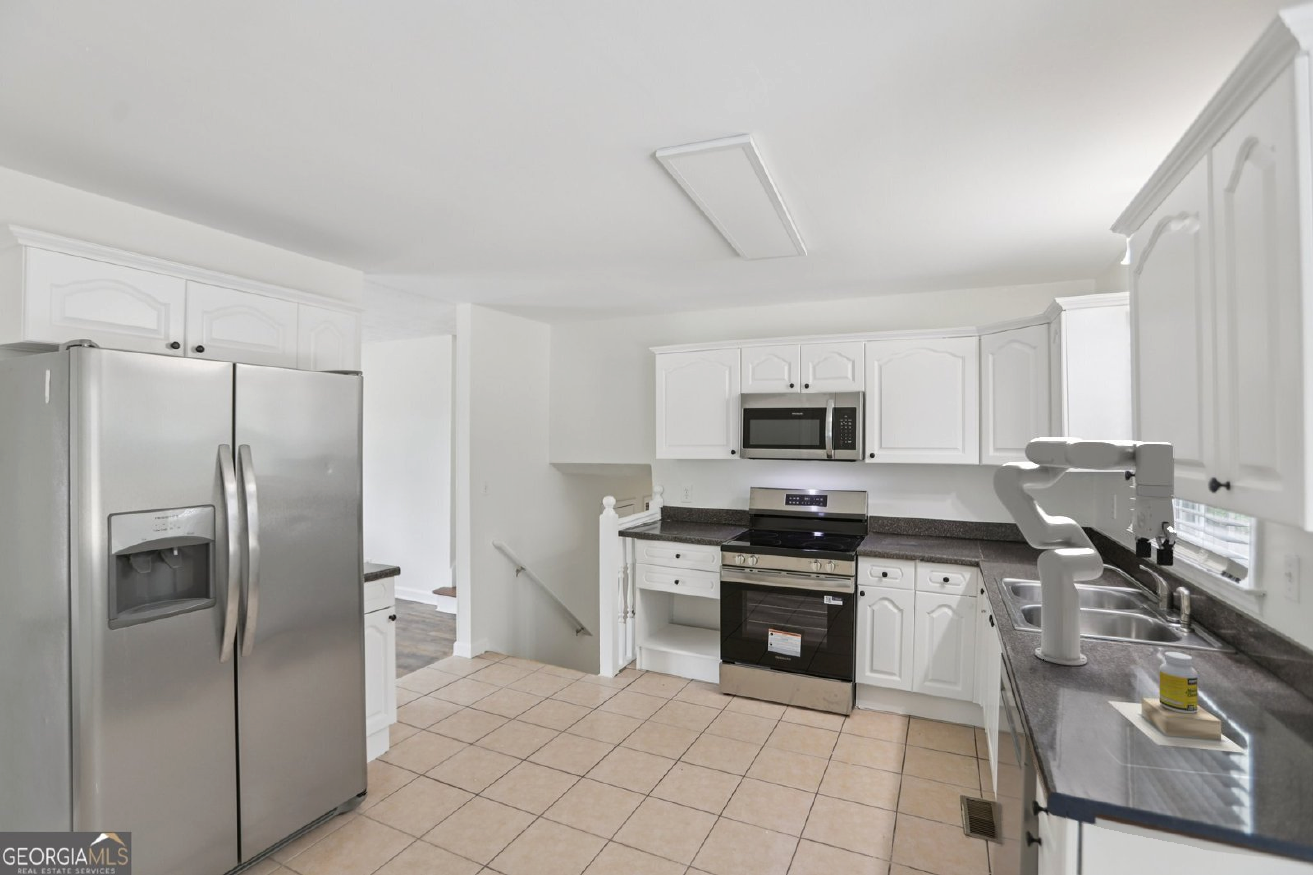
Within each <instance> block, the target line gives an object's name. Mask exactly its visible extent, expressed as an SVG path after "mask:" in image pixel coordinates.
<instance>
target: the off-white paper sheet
mask: <svg viewBox="0 0 1313 875" xmlns="http://www.w3.org/2000/svg"><path fill="white" fill-rule="evenodd" d="M1107 703H1109V704H1110V705H1112V706H1113V708H1114V709H1116V710H1117V711H1118V712H1119V713H1121V715H1123V716H1124V717H1125V718H1126V719H1127V720H1129V721H1130V723H1132V724H1133V725H1134V726H1135V727H1137V728H1138V729H1139V730H1140V731H1141V732H1142V733H1144V735H1146V736H1147V737H1148V738H1149V739H1150V740H1152V741H1153V742H1154V743H1155V744H1156V745H1157V746H1158V745H1159V746H1171V747H1181V748H1191V749H1198V750H1199V749H1202V750H1210V751H1212V750H1213V751H1221V752H1222V751H1223V752H1234V753H1245V754H1249V752H1248V751H1247V750H1246V749H1244V748H1243V747H1241V746H1240V745H1239V744H1236V743H1235V742H1234V741H1233V740H1232V739H1229V738H1228V737H1227V736H1225V735H1224V734H1222V733H1221V740H1213V739H1202V738H1191V737H1180V736H1169V735H1165V734H1164V733H1163V732H1162V731H1160V730H1159V729H1158V728H1157V727H1156V726H1154V725H1153V724H1152V723H1151V722H1149V721H1148V720H1147V719H1146V718H1145V717H1143V716H1142V703H1138V702H1136V703H1135V702H1124V701H1123V702H1122V701H1113V700H1107Z"/></svg>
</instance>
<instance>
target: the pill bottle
mask: <svg viewBox="0 0 1313 875" xmlns="http://www.w3.org/2000/svg"><path fill="white" fill-rule="evenodd" d="M1164 660H1165V662H1164V663H1162V664H1160V666H1159V699H1160V704H1161V705H1162V706H1164V707H1165V708H1167V709H1170V710H1173V711H1176V712H1181V713H1195V712H1196V711H1197V705H1198V701H1199V700H1198V690H1199V689H1198V672H1197V671H1196V670H1195V668H1194V667H1192V665H1193V657H1192V656H1191V655H1188V654H1187V653H1186V654H1185V653H1182V652H1176V651H1166V652H1165V653H1164Z"/></svg>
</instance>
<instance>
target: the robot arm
mask: <svg viewBox="0 0 1313 875" xmlns="http://www.w3.org/2000/svg"><path fill="white" fill-rule="evenodd" d="M1172 445H1173V444H1172V443H1170V442H1165V441H1164V442H1162V441H1161V442H1159V441H1155V442H1154V441H1145V442H1143V441H1139V440H1137V441H1136V440H1084V439H1082V438H1079V437H1039V438H1038V437H1037V438H1034V439H1032V440H1031V441H1029V442H1028V443H1027V444H1026V446H1025V449H1024V454H1025V457H1026V459H1027V460H1028V461H1016V462H1007V463H1004V464H1002V465H1000V466H998V467H997V468H996V469H995V471H994V474H993V477H992V479H993V488H994V492H995V494H996V496H997V499H998V500H999V501H1000V502H1001V504H1002V505H1003V506H1004V507H1005V509H1006V510H1007V511H1008V512H1009V515H1010V516H1011V517H1012V519H1013V520H1014V522H1015V524H1016V526H1017V527H1018V529H1019V531H1020V532H1021V534H1022V535H1023V537H1024V539H1025V540H1026V542H1027V543H1028V544H1029V546H1031V547H1032V548H1034V549H1037V550H1039V549H1040V550H1044V551H1043V552H1041V554H1039V556H1038V558H1037V560H1036V561H1037V562H1036V564H1037V565H1036V566H1037V572H1038V575H1039V580H1040V581H1039V582H1040V594H1041V595H1040V602H1041V605H1040V606H1041V609H1040V610H1041V614H1040V615H1041V619H1040V620H1041V624H1040V625H1041V626H1040V629H1041V636H1040V637H1041V639H1040V642H1041V644H1040V645H1041V646H1040V647H1037V648H1035V650H1034V654H1035V656H1036V657H1037V658H1039V659H1041V660H1043V659H1044V660H1043V661H1046V662H1049V663H1053V664H1058V665H1063V666H1065V665H1066V666H1082V665H1085V664H1087V663H1088V658H1087V656H1086V655H1085V654H1083V653H1082V652H1081V596H1080V593H1079V591H1078V590H1077V587H1076V585H1075V582H1081V581H1082V582H1083V581H1092V580H1095V579H1098V578H1100V577H1101V576H1102V575H1103V572H1104V561H1103V559H1102V556H1101V555H1100V553H1099V551H1098V549H1097V548H1096V547H1095V545H1094V544H1093V543H1092V541H1091V539H1090V538H1089V537H1088V535H1087V533H1085V531H1084V529H1083V528H1082V527H1081V526H1080V524H1079V523H1078V522H1076V520H1074V519H1072V518H1070V517H1067V516H1061V515H1060V516H1059V515H1056V516H1051V515H1049V514H1047V513H1046V512H1045V510H1044V508H1043V507H1042V505H1041V504H1040V503H1039V501H1037V500H1036V498H1034V497H1033V496H1032V495H1031V494H1029V493H1027V491H1025V490H1042V489H1043V490H1044V489H1047V488H1049V487H1051V486H1053V485H1054V484H1055V483H1056V482H1057V481H1059V479H1060V478H1062V476H1063V475H1065V473H1067V471H1069V469H1076V470H1077V469H1082V470H1095V471H1133V470H1134V471H1135V472H1134V476H1135V477H1134V480H1135V483H1134V486H1135V488H1134V489H1135V490H1134V495H1135V496H1134V497H1135V499H1134V505H1133V514H1132V527H1131V528H1132V533H1133V534H1134V535H1135V537H1134V540H1135V557H1136V558H1139V559H1140V558H1141V559H1151V558H1152V542H1151V540H1155V541H1156V544H1157V547H1158V548H1156V565H1157V566H1159V567H1160V566H1161V567H1173V565H1174V550H1175V545H1176V539H1177V536H1178V533H1177V532H1176V530H1175V515H1174V514H1175V513H1174V505H1173V500H1175V457H1174V458H1173V447H1174V445H1173V446H1172ZM1171 495H1174V497H1173V496H1171Z"/></svg>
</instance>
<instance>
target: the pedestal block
mask: <svg viewBox="0 0 1313 875" xmlns="http://www.w3.org/2000/svg"><path fill="white" fill-rule="evenodd" d="M1141 704H1142V716H1143V717H1145V718H1146V719H1147V720H1148V721H1149V722H1151V723H1152V724H1153V725H1154V726H1156V727H1157V728H1158V729H1159V730H1160V731H1162V732H1163V733H1164V734H1165V735H1169V736H1180V737H1191V738H1202V739H1213V740H1221V734H1222V720H1220V719H1219V718H1217V717H1216V716H1214V715H1213V714H1211V713H1210V712H1208V711H1207V710H1206V709H1204V708H1202V707H1201V706H1200V705H1198V704H1197V711H1196V712H1195V713H1181V712H1176V711H1173V710H1170V709H1167V708H1165V707H1164V706H1162V705H1161V704H1160V698H1154V697H1153V698H1151V697H1141Z"/></svg>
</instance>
